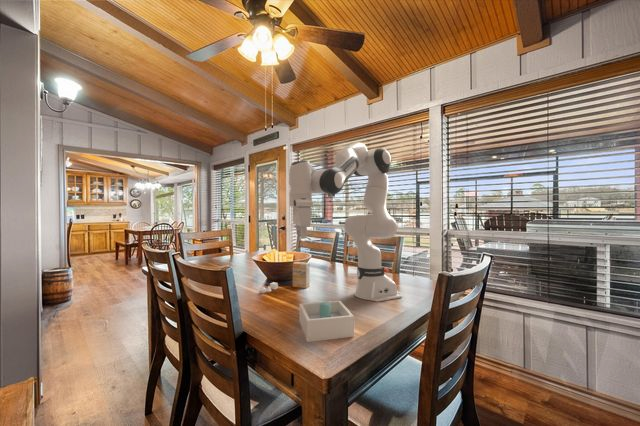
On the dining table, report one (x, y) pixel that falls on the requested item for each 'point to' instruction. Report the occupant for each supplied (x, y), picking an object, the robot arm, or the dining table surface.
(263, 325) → the dining table surface
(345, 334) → the peg box
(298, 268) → the supplement box
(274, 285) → the game pieces
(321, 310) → the peg
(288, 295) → the dining table surface
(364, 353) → the dining table surface
